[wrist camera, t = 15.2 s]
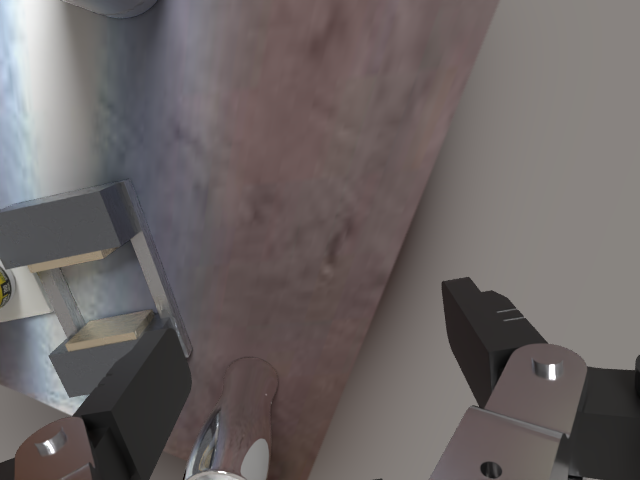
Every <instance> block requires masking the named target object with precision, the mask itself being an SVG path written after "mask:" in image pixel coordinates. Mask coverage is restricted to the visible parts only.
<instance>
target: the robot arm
mask: <svg viewBox="0 0 640 480" xmlns="http://www.w3.org/2000/svg"><path fill="white" fill-rule="evenodd" d="M61 1H64V2H67V3H70V4H73V5H76V6H78V7H81V8H84V9H87V10H90V11H93V12H94V13H97V14H101V15H105V16H108V17H113V18H130V17H134V16H137V15H139V14H142V13H144V12H145V11H147V10H148V9H149V8H151V7H152V6H153V5H154V4H155V3H156V1H157V0H61ZM442 296H443V304H444V312H445V321H446V329H447V335H448V339H449V343H450V346H451V349H452V352H453V354H454V356H455V358H456V360H457V362H458V364H459V366H460V368H461V370H462V372H463V374H464V376H465V378H466V380H467V382H468V384H469V386H470V388H471V391H472V392H473V395H474V397H475V399H476V401H477V403H478V405H479V407H477V406H474V405H473V406H470V407H469V408H468V410H467V411H466V413H465V414H464V416H463V418H462V420H461V422H460V423H459V426H458V427H457V429H456V431H455V433H454V435H453V436H452V438H451V440H450V442H449V443H448V445H447V447H446V449H445V451H444V452H443V454H442V456H441V458H440V460H439V462H438V464H437V465H436V467H435V469H434V471H433V473H432V475H431V476H430V478H429V480H586V479H587V478H594V479H600V480H640V355H639V356H638V357H637V359H636V364H635V365H636V366H635V370H617V369H601V368H593V367H588V366H587V365H586V363H585V361H584V360H583V359H582V358H581V356H579V355H578V354H577V353H575V352H573V351H572V350H569V349H567V348H564V347H561V346H558V345H553V344H548V343H547V342H546V340H545V339H544V338H543V337H542V336H541V335H540V334H539V333H538V331H537V330H536V329H535V328H534V327H533V326H532V325H531V324H530V323H529V321H528V320H527V319H526V318H524V316H523V315H522V314H521V313H520V311H519V310H517V309H516V307H515V306H514V305H513V304H512V303H511V302H510V300H509V299H508V298H507V297H505V296H503V295H501V294H498V293H496V292H494V291H492V290H491V291H486V292H481V291H480V290H479V289H478V288H477V286H476V285H475V284H474V283H473V281H472V280H471V279H470V278H469V277H465V278H459V279H453V280H448V281H443V282H442ZM191 383H192V380H191V372H190V369H189V366H188V363H187V360H186V358H185V355H184V352H183V349H182V346H181V344H180V341H179V338H178V335H177V333H176V331H175V330H174V329H173V328H166V329H160V330H154V331H149V332H146V333H144V334H143V336H142V337H141V338H140V340H139V341H138V342H137V343H136V345H135V346H134V347H133V349H132V350H131V351H130V352H128V353H127V354H126V355H124V356H123V357H122V358H121V359H119V360H118V361H117V362H115V364H114V365H113V366H112V367H111V369H110V370H109V371H108V372H107V374H106V377H103V379H102V380H101V381H100V382H99V384H98V387H95V389H94V390H93V391H92V392H91V394H90V395H89V396H88V397H87V399H86V400H85V401H84V402H83V404H82V405H81V406H80V407H79V409H78V410H77V411H76V412H75V413H74V415H73V416H72V417H67V418H63V419H59V420H57V421H54V422H52V423H50V424H48V425H46V426H44V427H43V428H41V429H39V430H38V431H36V432H35V433H34V434H32V435H31V436H30V437H29V438H28V439H26V440H25V441H24V443H23V444H22V445H21V446H20V447H19V449H18V450H17V452H16V454H15V458H13V459H10V460H7V461H4V462H2V463H0V480H149V479H150V476H151V474H152V472H153V470H154V468H155V466H156V464H157V461H158V459H159V457H160V455H161V453H162V451H163V449H164V447H165V444H166V442H167V440H168V438H169V436H170V434H171V432H172V429H173V427H174V425H175V423H176V421H177V419H178V417H179V414H180V412H181V410H182V408H183V406H184V404H185V402H186V400H187V397H188V395H189V393H190V390H191ZM375 480H382V479H375Z"/></svg>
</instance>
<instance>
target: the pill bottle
mask: <svg viewBox="0 0 640 480" xmlns="http://www.w3.org/2000/svg"><path fill="white" fill-rule="evenodd" d="M14 293H15V280H14V277H13V274H12V272H11V271H10V269H7V270H5V268H4V266H3V264H2V262H1V260H0V308H1V307H3V306H4V305H6V304H7V303H8V302H9V301H10V300H11V299H12V297H13V295H14Z"/></svg>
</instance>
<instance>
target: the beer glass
mask: <svg viewBox="0 0 640 480" xmlns="http://www.w3.org/2000/svg"><path fill="white" fill-rule="evenodd" d="M277 388H278V376H277V373H276V371H275V370H274V368H273V367H272V366H271V365H270V364H269V363H267V362H266V361H264V360H261V359H259V358H254V357H245V358H241V359H238V360H236V361H234V362H233V363H231V364H230V365H229V367H228V368H227V369H226V371H225V374H224V379H223V390H222V394H221V396H220V398H219V400H218V402H217V403H216V405H215V407H214V408H213V410H212V411H211V413H210V414H209V416H208V417H207V419H206V421H205V422H204V424H203V426H202V428H201V430H200V431H199V433H198V435H197V438H196V440H195V442H194V445H193V447H192V450H191V453H190V456H189V459H188V462H187V465H186V469H185V472H184V476H183V480H267V477H268V472H269V467H270V459H271V450H272V435H271V418H270V407H271V403H272V400H273V397H274V395H275V393H276V391H277Z"/></svg>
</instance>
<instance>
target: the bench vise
mask: <svg viewBox="0 0 640 480" xmlns="http://www.w3.org/2000/svg"><path fill="white" fill-rule="evenodd" d="M129 240H131V242H132V245H133V247H134V250H135V253H136V255H137V258H138V260H139V263H140V266H141V268H142V271H143V274H144V276H145V279H146V281H147V284H148V287H149V289H150V292H151V294H152V297H153V300H154V302H155V305H156V307H157V310H158V313H157V314H154V312H153V310H152V309H151V310H145V311H140V312H135V313H130V314H124V315H119V316H114V317H108V318H103V319H98V320H93V321H89V322H88V323H87V324H86V325H85V323H84V320H83V318H82V316H81V314H80V312H79V309H78V307H77V305H76V303H75V300H74V298H73V296H72V294H71V292H70V289H69V287H68V285H67V283H66V281H65V278H64V276H63V274H62V272H61V270H60V267H64V266H69V265H74V264H79V263H84V262H89V261H94V260H99V259H104V258H105V257H106V256H108V255H109V254H110V253H112V252H113V251H115V250H116V249H117V248H119V247H120V246H122V245H123V244H125V243H126V242H128V241H129ZM0 260H1V262H2V264H3V266H4V268H5V270H7V269H12V268H17V267H22V266H28V269H29V271H30V273H34V272H36V273H37V275H38V277H39V279H40V281H41V283H42V285H43V287H44V289H45V292H46V294H47V296H48V298H49V300H50V302H51V304H52V306H53V308H54V311H55V313H56V315H57V317H58V319H59V321H60V323H61V325H62V327H63V330H64V332H65V334H66V336H67V339H66V340H65V341H64V342H63V343H62V344H61V345H60V346H58V347H57V348H56V349H55V350H54V351H53V352H52V353H51V354H50V355H49V358H50V360H51V362H52V364H53V366H54V368H55V370H56V372H57V374H58V376H59V378H60V380H61V382H62V384H63V386H64V388H65V390H66V392H67V394H68V396H69V398H70V397H75V396H81V395H87V394H91V392H92V391H93V390H94V389H95V387H98V384H99V382H100V381H101V380H102V379H103V377H106V374H107V372H108V371H109V370H110V369H111V367H112V366H113V365H114V364H115V362H117V361H118V360H119V359H121V358H122V357H123V356H124V355H126V354H127V353H128V352H130V351H131V350H132V349H133V347H134V346H135V345H136V343H137V342H138V341H139V340H140V338H141V337H142V336H143V334H144V333H146V332H149V331H154V330H160V329H166V328H173V329H174V330H175V331H176V333H177V335H178V338H179V341H180V344H181V346H182V349H183V352H184V355H185V358H186V357H189V356H190V354H191V352H192V350H193V348H192V346H191V343H190V340H189V337H188V335H187V332H186V329H185V326H184V324H183V321H182V318H181V315H180V313H179V310H178V307H177V305H176V302H175V299H174V296H173V294H172V291H171V288H170V285H169V283H168V280H167V277H166V274H165V272H164V269H163V266H162V263H161V261H160V258H159V255H158V252H157V250H156V247H155V244H154V241H153V239H152V236H151V233H150V230H149V228H148V225H147V222H146V220H145V217H144V214H143V211H142V209H141V206H140V203H139V200H138V198H137V195H136V192H135V189H134V187H133V184H132V181H131V179H126V180H122V181H117V182H113V183H108V184H103V185H99V186H94V187H90V188H85V189H80V190H76V191H71V192H67V193H62V194H57V195H53V196H48V197H44V198H39V199H34V200H30V201H25V202H21V203H16V204H13V205H10V206H8V207H6V208H3V209H1V210H0Z"/></svg>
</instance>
